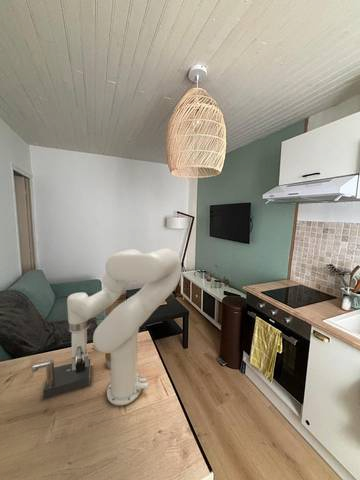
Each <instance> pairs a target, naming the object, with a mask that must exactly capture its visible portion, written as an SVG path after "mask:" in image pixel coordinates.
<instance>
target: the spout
mask: <svg viewBox="0 0 360 480" xmlns="http://www.w3.org/2000/svg"><path fill="white" fill-rule="evenodd" d="M54 367H55V361H54V359H48V360H44V361H40V362H36V363H32V367H31V372H32V373H36V372H37V371H39V369H42V368H45V373H46V375H45V376H46V380H47V386H48V387H50V386H53V385H54V384H55V376H54Z"/></svg>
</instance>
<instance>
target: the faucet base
mask: <svg viewBox="0 0 360 480" xmlns="http://www.w3.org/2000/svg"><path fill="white" fill-rule="evenodd" d="M93 365H94V363H91V358H89V367H85V371H83V372H80V373H76V370H73V371H72V362H71V363H67V364H62V365H59V366H54V376H55V384H54V385H53V386H50V387H48V386H47V379H46V380H45V384H44V386H43V390H42V392H43V400H44V399H49V398H52V397H55V396H59V395H62V394H65V393H69V392H72V391H77V390H80V389H83V388H87V387H90V386H91V384H90V383H91V369H92V368H91V366H93Z"/></svg>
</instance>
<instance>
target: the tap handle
mask: <svg viewBox="0 0 360 480" xmlns="http://www.w3.org/2000/svg"><path fill="white" fill-rule="evenodd" d="M89 357H90V356H89V352H87V354H85V355H84V361H85V367H89V359H90V358H89ZM81 359H82V356H81ZM71 363H72V371H73V370H76V365H75V363H76V356H75V357H74V358H73V357H72V356H71Z"/></svg>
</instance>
